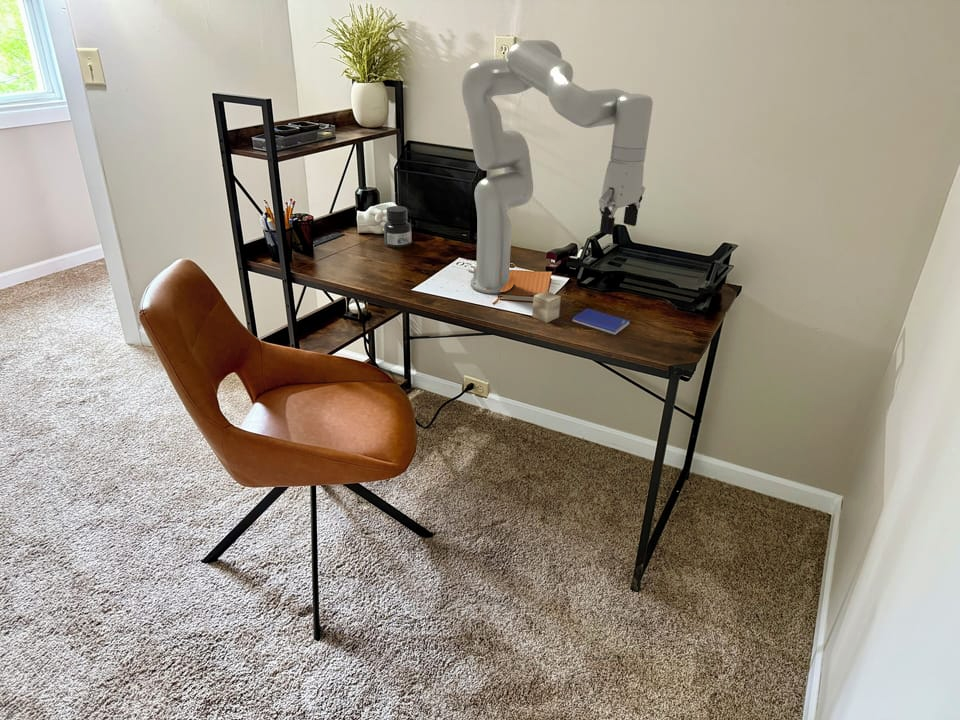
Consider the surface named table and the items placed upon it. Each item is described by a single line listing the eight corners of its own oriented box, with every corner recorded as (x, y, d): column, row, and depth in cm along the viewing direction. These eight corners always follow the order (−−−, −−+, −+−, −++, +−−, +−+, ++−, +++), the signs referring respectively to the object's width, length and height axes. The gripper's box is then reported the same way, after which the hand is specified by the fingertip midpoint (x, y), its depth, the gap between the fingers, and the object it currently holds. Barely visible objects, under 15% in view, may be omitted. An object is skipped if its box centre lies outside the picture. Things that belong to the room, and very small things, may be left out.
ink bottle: (388, 250, 218) (386, 214, 213) (380, 241, 225) (378, 206, 220) (416, 246, 222) (415, 211, 216) (407, 238, 229) (406, 203, 223)
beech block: (532, 316, 177) (533, 295, 174) (544, 311, 180) (545, 290, 177) (546, 322, 174) (548, 301, 171) (558, 317, 177) (560, 296, 174)
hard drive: (629, 320, 174) (587, 307, 180) (615, 330, 168) (572, 317, 174) (628, 325, 175) (586, 312, 181) (614, 336, 169) (572, 322, 175)
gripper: (634, 146, 156) (624, 218, 164) (591, 156, 145) (583, 232, 153) (663, 151, 151) (651, 225, 160) (620, 162, 140) (610, 240, 149)
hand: (618, 228), depth 156 cm, fingers open, 9 cm apart
